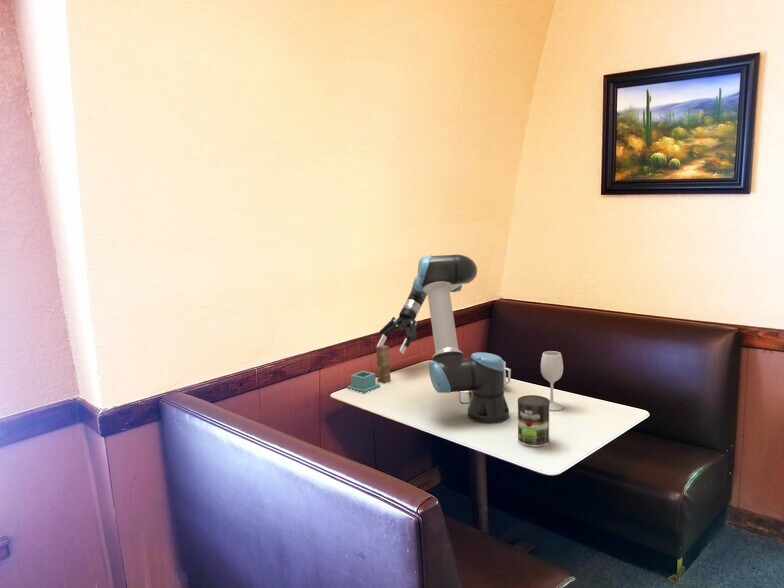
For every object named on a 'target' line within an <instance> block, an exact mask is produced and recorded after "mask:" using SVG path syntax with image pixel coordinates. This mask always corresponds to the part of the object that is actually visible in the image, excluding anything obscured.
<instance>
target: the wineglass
mask: <svg viewBox="0 0 784 588" xmlns="http://www.w3.org/2000/svg"><path fill="white" fill-rule="evenodd" d="M563 361H564V360H563V356H562V353H561V352H559V351H554V350H548V351H547V350H546V351H543V352H542V355H541V360H540V374H541V375H542V377H543V379H545V380H546V381H547V382H549V385H550V386H549V387H550V397H549V400H550V404H549V411H561V410H563V409H564V408H565V406H564V405H563V404H562V403H560V402H557V401H555V400H554V384H555V382H557V381H559V380H560V379H561V378H562V377H563V376H562V375H563V373H564V362H563Z"/></svg>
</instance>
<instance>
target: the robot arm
mask: <svg viewBox="0 0 784 588" xmlns="http://www.w3.org/2000/svg"><path fill="white" fill-rule="evenodd" d="M417 267H418V268H417V275H416V276H415V277H414V280H413V282H412V287H411V291H410V292H409V295H408V297H407V299H406V300H405V303H404V304H403V306H402V308H401V310H400V312H399V315H398V317H397V318H396V317H395V316H393V317H392V318H391V319H390V321H389V322H387V323H386V325H384V326H383V327H382V328H381V329H380V330H379V333H380V334H381V335H380V337H379V339H378V340H379V341H378V343H377V345H376V347H378V346H381V345H384V344H385V343H386V340H387V338H388V336H389V335H390V334H393V332H395V331H397V330H399V329H400V330H405V333H406V337H404V338H405V339H404V341H403V343H402V344H401V346H400V348H399V352H400V353H401V354H402V355H404V354H405V352H406V350H407V348H408V347H409V346H410V345H411V343H412V342H413V341H414V342H416V341H417V327H418V325H419V324H418V322H417V321H416V319H417V315H418V314H419V311H420V310H421V308H422V307H423V306H422V305H423V304H424V302H425V300H426V298H427V302H428V308H429V316H430V322H431V329H432V337H433V344H434V345H433V346H434V350H435V351H434V352H435V353H434V354H433V355H432V357H431V359H432V360H431V361H429V363H428V370H429V377H430V381H431V384H432V387H433V389H434V390H435V392H437V393H439V394H443V393H444V394H450V393H457V392H458V393H459V392H460V393H461V392H471V398H470V401H469V405H468V407H467V417H468V419H469V420H472V421H474V422H477V423H481V424H483V423H484V424H498V423H501V422H504V421H506V420H508V419H510V418H509V417H510V410H509V407H508V404H507V401H506V397H505V388H504V365H503V361H504V360H503V358H502V357H501V356H499V355H497V354H493V353H490V352H478V351H477V352H474V353H471V355H470V358H465V356H464V355H465V354H464V352H463V351H461V350H460V349H459V343H458V339H457V338H458V337H457V330H456V325H455V319H454V318H455V317H454V311H453V305H452V299H451V298H452V297H451V293H457V292H461V291H462V288H463V284H465V285H466V284H469V283H471V282H472V281H474V280H475V279H476V277H477V273H478V267H477V265H476V263H475V262H474V260H473V259H471V258H470V257H468V256H466V255H463V254H446V255H445V254H444V255H429V256H428V255H427V256H422V257H420V259H419V261H418V266H417ZM410 326H411V327H410Z"/></svg>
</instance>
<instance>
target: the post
mask: <svg viewBox="0 0 784 588" xmlns="http://www.w3.org/2000/svg"><path fill="white" fill-rule="evenodd" d="M375 349H376V350H375V352H376V367H377V382H378V383H381V382H382V383H381V384H387V383H389V382H391V380H392V379H391V363H390V362H391V357H390V346H389V345H384V344H383V345H381V346H378V347H377V346H376V347H375ZM386 382H387V383H386Z"/></svg>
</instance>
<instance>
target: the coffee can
mask: <svg viewBox="0 0 784 588" xmlns="http://www.w3.org/2000/svg"><path fill="white" fill-rule="evenodd" d="M549 404H550V398H547V397H545V396H541V395H536V394H535V395H534V394H532V395H531V394H528V395H522V396H520V397H518V398H517V442H518V443H520V444H521V445H522V446H526V447H531V448H541V447H546V446H548V445H549V444H550V410H549Z"/></svg>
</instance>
